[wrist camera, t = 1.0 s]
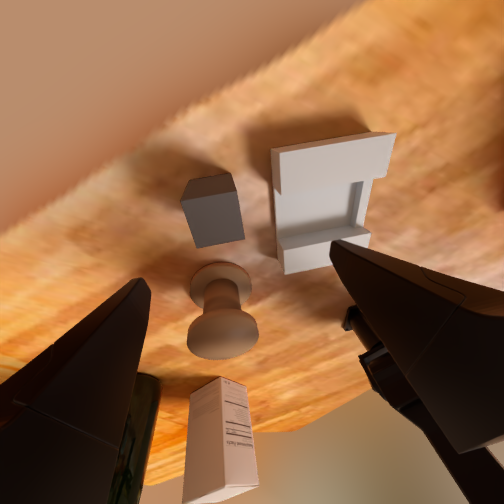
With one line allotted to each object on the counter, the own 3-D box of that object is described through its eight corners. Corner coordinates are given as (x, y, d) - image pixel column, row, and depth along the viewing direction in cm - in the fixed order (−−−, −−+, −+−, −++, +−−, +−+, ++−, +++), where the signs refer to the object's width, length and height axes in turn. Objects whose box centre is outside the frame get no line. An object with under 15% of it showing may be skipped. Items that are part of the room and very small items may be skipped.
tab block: (237, 211, 21) (245, 239, 16) (200, 218, 21) (196, 248, 16) (230, 172, 19) (236, 190, 14) (189, 180, 18) (180, 201, 14)
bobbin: (253, 299, 29) (265, 351, 22) (200, 311, 28) (196, 368, 22) (245, 256, 24) (258, 306, 18) (181, 269, 24) (169, 325, 17)
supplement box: (218, 402, 46) (219, 503, 34) (189, 393, 42) (179, 507, 29) (247, 386, 44) (261, 487, 32) (221, 375, 40) (224, 489, 27)
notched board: (350, 244, 26) (364, 258, 24) (277, 259, 25) (284, 274, 23) (371, 131, 19) (396, 133, 16) (270, 148, 18) (279, 153, 16)
